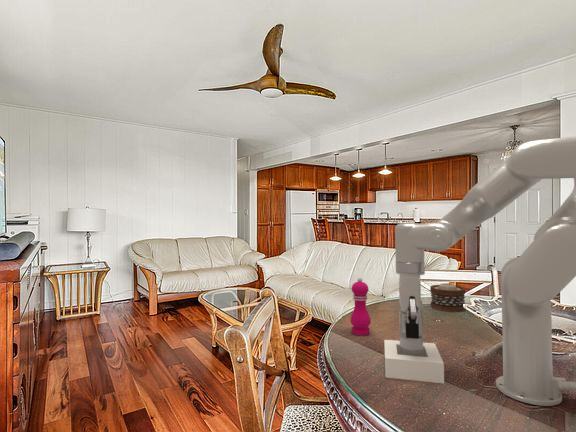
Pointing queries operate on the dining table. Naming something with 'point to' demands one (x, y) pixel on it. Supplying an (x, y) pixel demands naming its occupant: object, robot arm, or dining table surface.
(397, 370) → the socket block
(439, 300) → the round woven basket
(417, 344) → the energy drink can
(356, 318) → the pepper mill
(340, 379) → the dining table surface
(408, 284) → the robot arm
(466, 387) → the dining table surface
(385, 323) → the dining table surface
